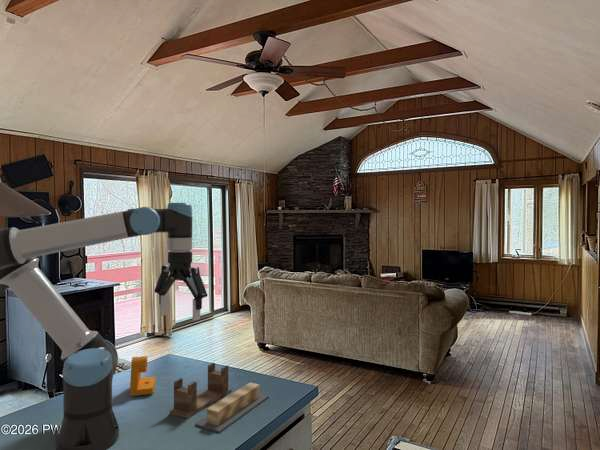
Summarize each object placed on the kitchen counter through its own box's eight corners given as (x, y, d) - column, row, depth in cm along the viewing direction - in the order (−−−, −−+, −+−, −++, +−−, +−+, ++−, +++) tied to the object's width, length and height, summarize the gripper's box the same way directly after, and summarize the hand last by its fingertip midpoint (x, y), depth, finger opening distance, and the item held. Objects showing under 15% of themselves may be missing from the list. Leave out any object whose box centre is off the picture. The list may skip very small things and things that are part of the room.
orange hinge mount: (152, 396, 139) (152, 360, 139) (130, 398, 137) (130, 362, 137) (155, 383, 149) (155, 351, 149) (134, 385, 147) (134, 352, 147)
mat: (219, 433, 114) (219, 430, 114) (195, 425, 119) (195, 423, 119) (268, 397, 138) (268, 395, 138) (246, 392, 142) (246, 390, 142)
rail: (217, 425, 117) (217, 411, 117) (206, 422, 119) (206, 408, 119) (259, 396, 137) (259, 384, 137) (249, 394, 139) (249, 382, 139)
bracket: (186, 418, 123) (186, 387, 123) (169, 413, 126) (169, 382, 126) (231, 391, 142) (231, 364, 142) (215, 387, 145) (215, 361, 145)
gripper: (218, 251, 128) (218, 319, 128) (160, 248, 139) (160, 310, 139) (202, 253, 121) (202, 324, 121) (143, 250, 132) (143, 315, 133)
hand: (180, 317), depth 130 cm, fingers open, 13 cm apart
